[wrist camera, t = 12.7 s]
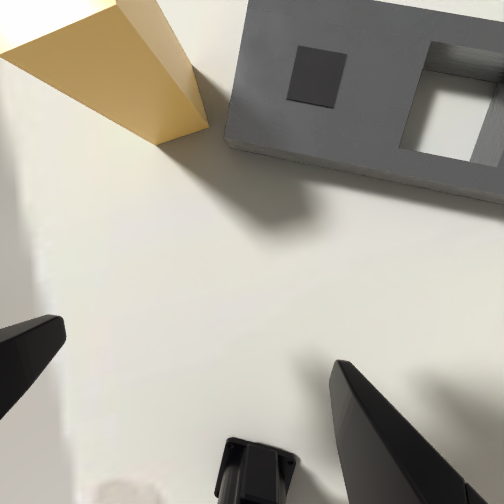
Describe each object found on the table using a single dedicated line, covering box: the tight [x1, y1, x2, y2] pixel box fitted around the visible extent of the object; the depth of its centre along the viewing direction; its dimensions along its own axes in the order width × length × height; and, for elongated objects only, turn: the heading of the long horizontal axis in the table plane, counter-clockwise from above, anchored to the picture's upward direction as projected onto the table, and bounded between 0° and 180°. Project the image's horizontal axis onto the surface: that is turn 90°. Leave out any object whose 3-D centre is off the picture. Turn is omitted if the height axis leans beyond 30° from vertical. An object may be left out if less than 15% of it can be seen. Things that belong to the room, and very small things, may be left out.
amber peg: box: [0, 0, 209, 145], centre depth 13 cm, size 4×4×11 cm
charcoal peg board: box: [224, 0, 504, 204], centre depth 16 cm, size 9×22×3 cm, turn 78°
